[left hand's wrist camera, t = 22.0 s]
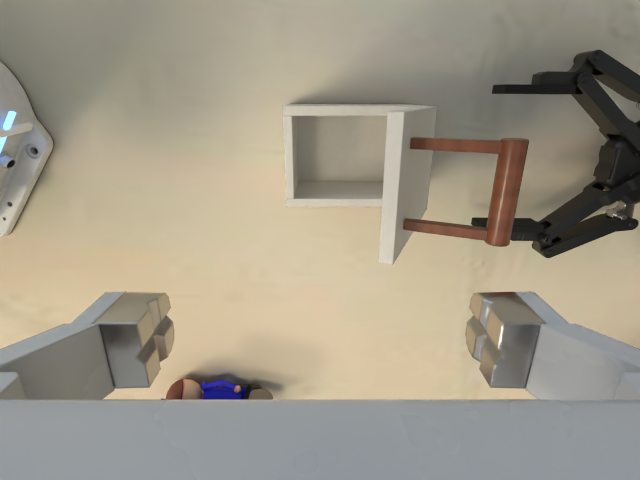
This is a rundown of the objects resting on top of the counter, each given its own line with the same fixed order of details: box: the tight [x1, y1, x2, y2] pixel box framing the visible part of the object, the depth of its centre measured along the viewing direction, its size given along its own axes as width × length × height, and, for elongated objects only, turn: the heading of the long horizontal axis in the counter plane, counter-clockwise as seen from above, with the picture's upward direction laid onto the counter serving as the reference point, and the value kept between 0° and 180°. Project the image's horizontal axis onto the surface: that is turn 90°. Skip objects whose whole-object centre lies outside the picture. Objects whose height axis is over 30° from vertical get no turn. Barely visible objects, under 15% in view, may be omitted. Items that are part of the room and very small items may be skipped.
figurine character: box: [161, 379, 273, 400], centre depth 54 cm, size 7×8×15 cm
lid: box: [379, 106, 529, 265], centre depth 28 cm, size 14×10×8 cm
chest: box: [283, 104, 425, 207], centre depth 40 cm, size 13×10×9 cm
